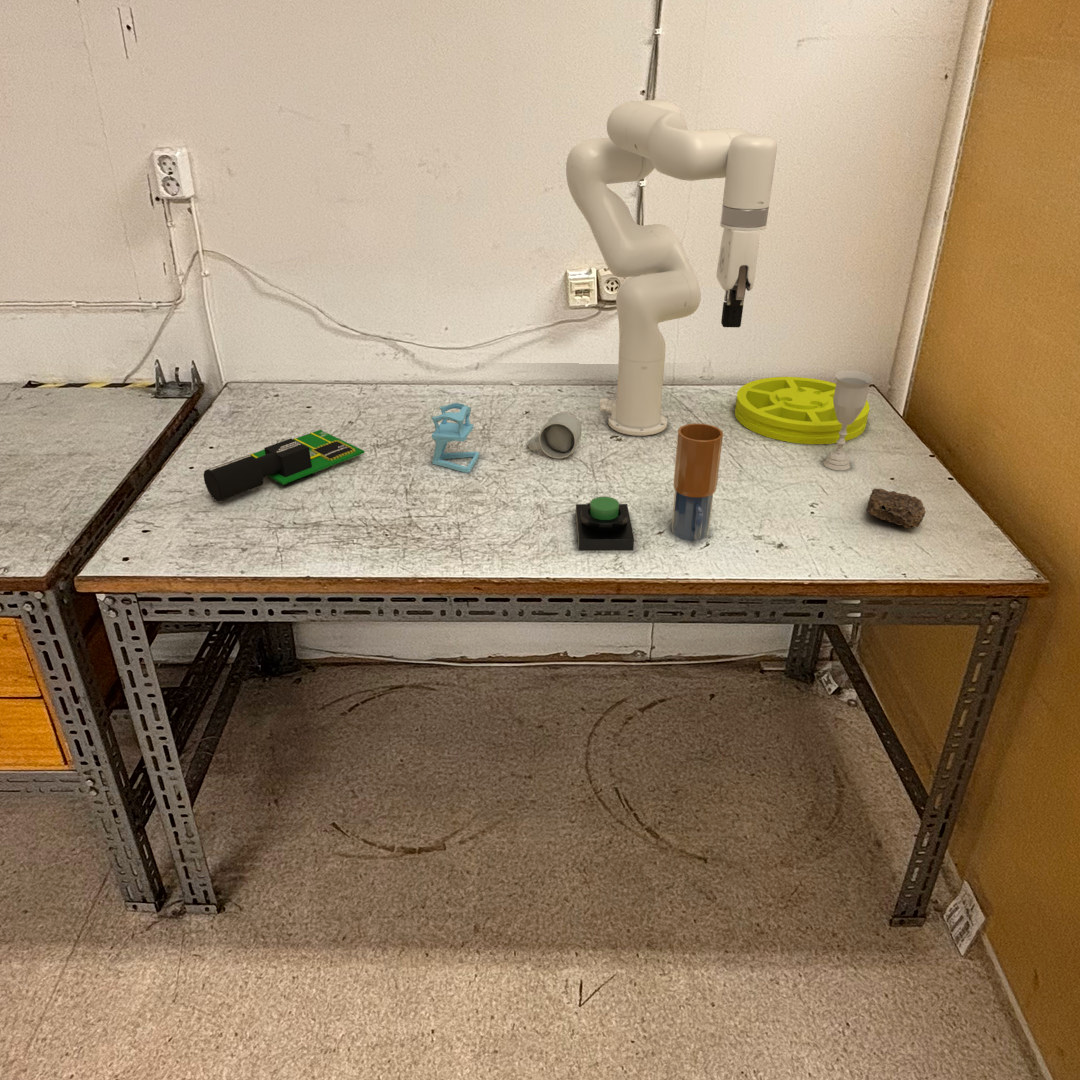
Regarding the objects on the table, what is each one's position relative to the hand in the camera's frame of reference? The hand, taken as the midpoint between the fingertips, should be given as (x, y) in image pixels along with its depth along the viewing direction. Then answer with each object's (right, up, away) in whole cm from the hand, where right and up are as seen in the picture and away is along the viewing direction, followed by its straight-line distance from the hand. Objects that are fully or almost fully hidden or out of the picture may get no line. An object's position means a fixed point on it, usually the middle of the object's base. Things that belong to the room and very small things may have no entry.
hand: (730, 325), depth 153 cm
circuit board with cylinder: (-84, -25, +14) cm, 89 cm away
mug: (-8, -37, -6) cm, 39 cm away
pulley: (+23, -11, +37) cm, 45 cm away
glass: (-8, -29, -10) cm, 32 cm away
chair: (-51, -23, +18) cm, 58 cm away
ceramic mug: (-31, -20, +22) cm, 43 cm away
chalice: (+25, -23, +17) cm, 38 cm away
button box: (-23, -37, -5) cm, 44 cm away
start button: (-23, -34, -7) cm, 41 cm away
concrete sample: (+28, -34, -1) cm, 44 cm away
